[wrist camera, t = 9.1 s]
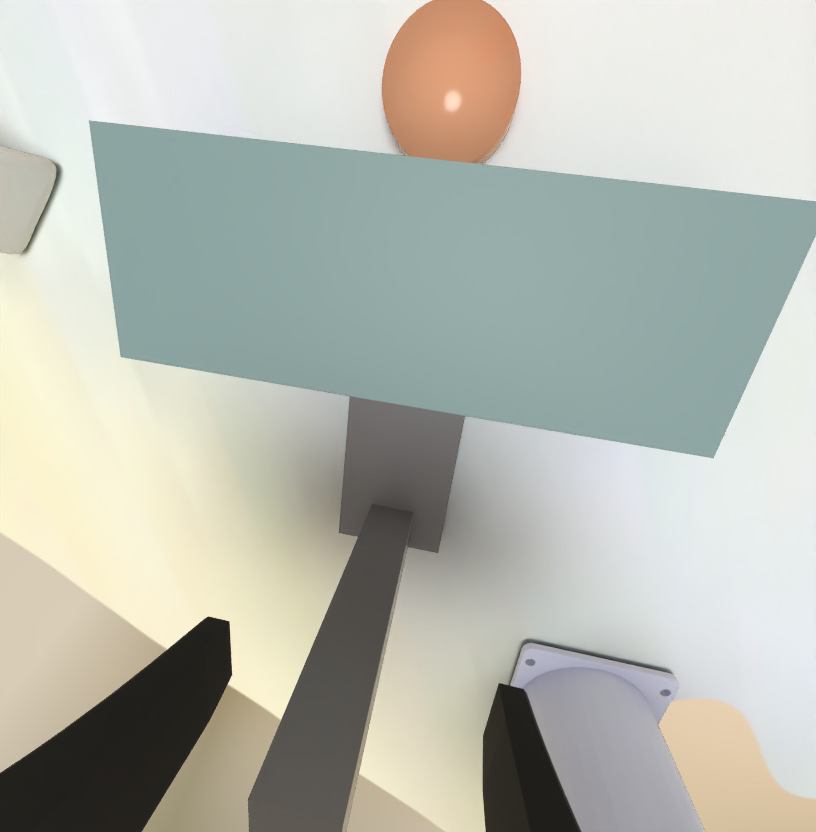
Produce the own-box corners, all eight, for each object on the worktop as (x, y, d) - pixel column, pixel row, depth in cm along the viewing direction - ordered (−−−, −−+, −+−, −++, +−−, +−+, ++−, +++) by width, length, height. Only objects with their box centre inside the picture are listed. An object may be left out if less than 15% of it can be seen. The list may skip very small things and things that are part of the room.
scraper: (439, 539, 19) (404, 895, 8) (345, 520, 20) (186, 833, 8) (482, 316, 15) (530, 401, 4) (363, 299, 16) (121, 334, 5)
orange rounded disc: (498, 185, 14) (502, 174, 13) (383, 170, 14) (374, 157, 13) (529, 35, 13) (537, 1, 11) (400, 22, 13) (391, -12, 11)
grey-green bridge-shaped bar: (648, 412, 16) (713, 458, 12) (201, 340, 17) (121, 357, 13) (717, 228, 13) (830, 202, 9) (191, 165, 15) (88, 120, 11)
